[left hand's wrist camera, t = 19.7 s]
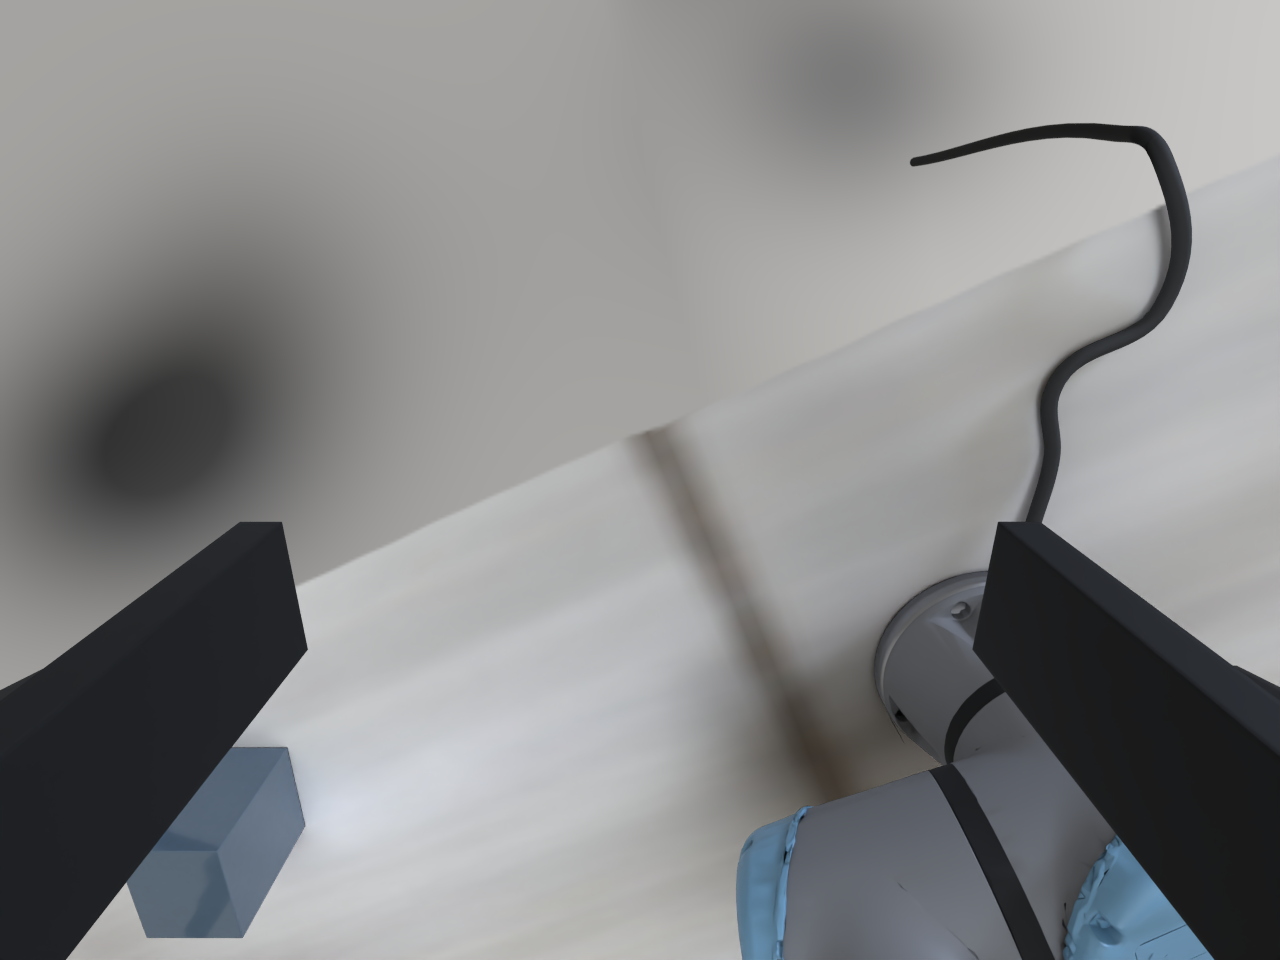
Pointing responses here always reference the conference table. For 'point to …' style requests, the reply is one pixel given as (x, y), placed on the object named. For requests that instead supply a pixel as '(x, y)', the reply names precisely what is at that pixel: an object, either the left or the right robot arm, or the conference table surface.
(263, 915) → the conference table surface
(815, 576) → the conference table surface
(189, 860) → the block
